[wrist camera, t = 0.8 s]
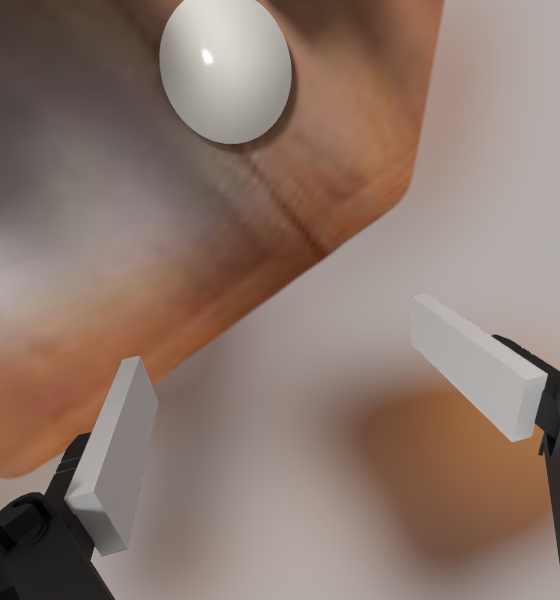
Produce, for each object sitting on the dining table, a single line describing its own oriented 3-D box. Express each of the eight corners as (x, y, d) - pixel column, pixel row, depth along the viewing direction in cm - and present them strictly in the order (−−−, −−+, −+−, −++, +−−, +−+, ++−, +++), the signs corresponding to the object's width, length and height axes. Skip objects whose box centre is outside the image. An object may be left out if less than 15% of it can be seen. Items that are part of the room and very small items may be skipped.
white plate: (131, 51, 32) (129, 47, 31) (238, -41, 31) (239, -48, 30) (218, 169, 38) (218, 169, 37) (311, 95, 37) (314, 93, 35)
